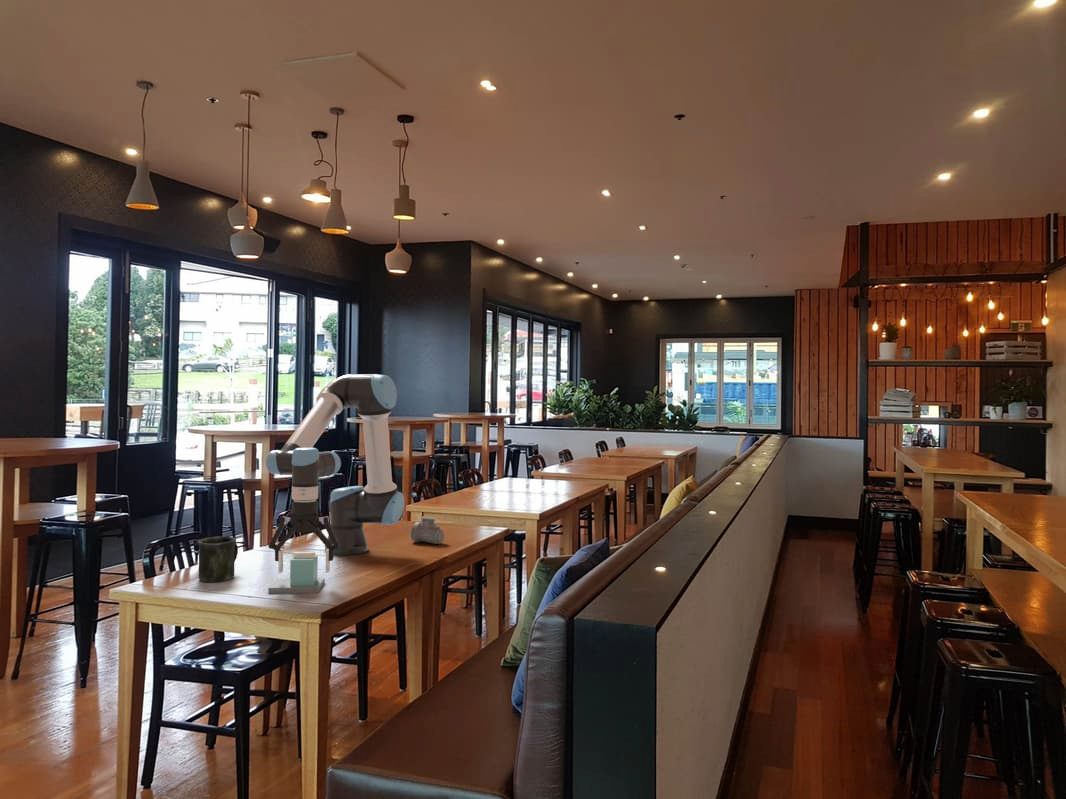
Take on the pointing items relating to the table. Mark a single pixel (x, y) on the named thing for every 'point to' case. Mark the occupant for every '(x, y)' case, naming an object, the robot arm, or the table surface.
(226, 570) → the mug
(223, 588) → the table surface
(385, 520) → the robot arm
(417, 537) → the pipe fitting
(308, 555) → the teal cube with ledge
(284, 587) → the post board
